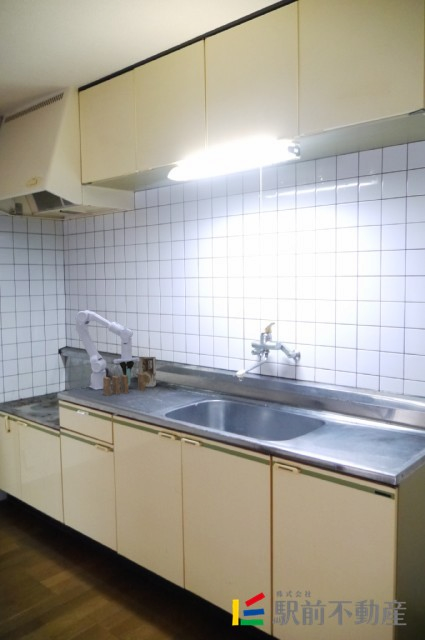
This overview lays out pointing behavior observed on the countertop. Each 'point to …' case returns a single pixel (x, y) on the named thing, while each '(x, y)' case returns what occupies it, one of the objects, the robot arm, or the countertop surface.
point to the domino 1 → (107, 386)
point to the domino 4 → (128, 375)
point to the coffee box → (148, 370)
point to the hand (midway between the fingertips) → (126, 375)
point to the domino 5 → (141, 381)
